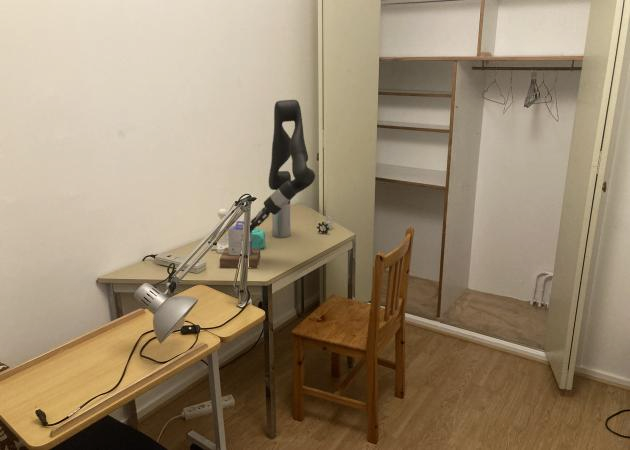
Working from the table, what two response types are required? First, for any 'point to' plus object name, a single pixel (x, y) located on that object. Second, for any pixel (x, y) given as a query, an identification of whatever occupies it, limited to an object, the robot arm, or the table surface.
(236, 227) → the ink cartridge box
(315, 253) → the table surface
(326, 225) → the valve
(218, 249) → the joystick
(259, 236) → the decorative dice
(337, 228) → the table surface
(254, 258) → the walnut stand
